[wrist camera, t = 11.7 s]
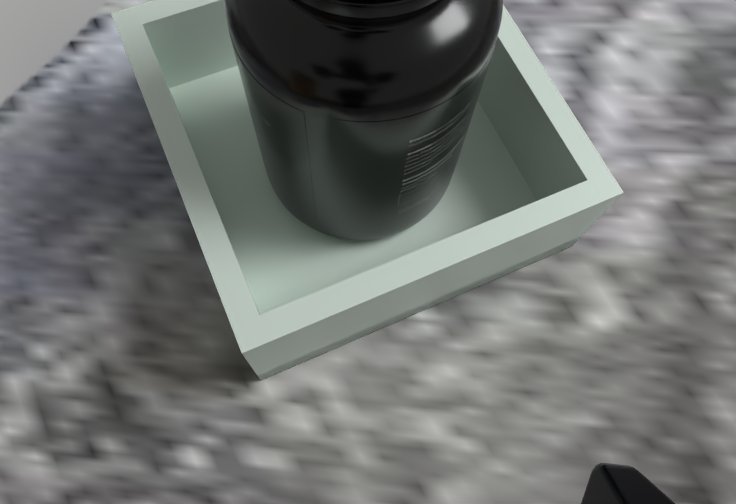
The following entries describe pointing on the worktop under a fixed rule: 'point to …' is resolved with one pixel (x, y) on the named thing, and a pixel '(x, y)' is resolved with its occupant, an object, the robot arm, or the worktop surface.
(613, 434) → the worktop surface
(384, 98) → the supplement bottle
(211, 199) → the box
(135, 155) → the worktop surface
